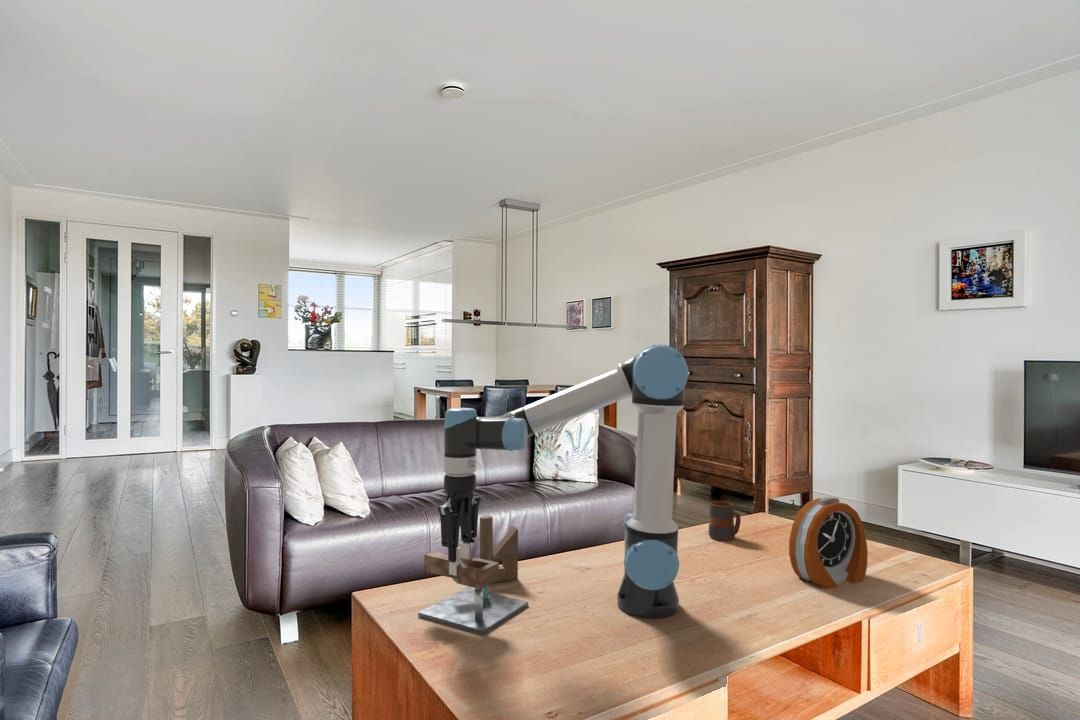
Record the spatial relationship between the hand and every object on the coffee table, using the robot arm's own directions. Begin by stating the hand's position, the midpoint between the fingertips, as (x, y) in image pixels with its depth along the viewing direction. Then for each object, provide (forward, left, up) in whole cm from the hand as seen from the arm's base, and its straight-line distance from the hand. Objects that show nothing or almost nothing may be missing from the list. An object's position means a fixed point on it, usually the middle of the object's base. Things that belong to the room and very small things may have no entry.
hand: (459, 572), depth 148 cm
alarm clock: (-73, -74, -11) cm, 104 cm away
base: (-1, -5, -11) cm, 12 cm away
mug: (-38, -97, -11) cm, 105 cm away
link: (0, 0, -1) cm, 1 cm away
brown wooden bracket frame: (+6, -25, -11) cm, 28 cm away
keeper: (+4, -9, -11) cm, 15 cm away
